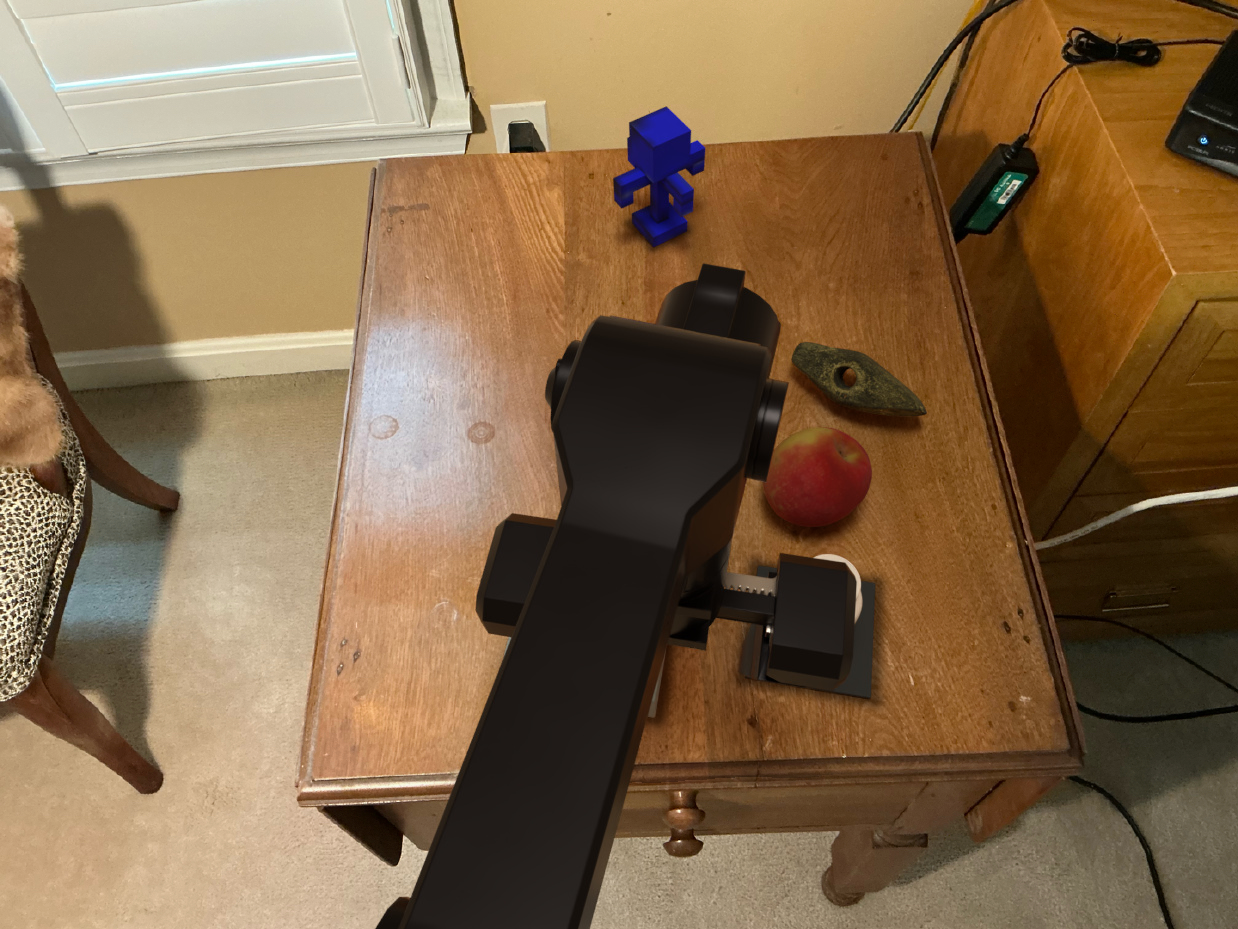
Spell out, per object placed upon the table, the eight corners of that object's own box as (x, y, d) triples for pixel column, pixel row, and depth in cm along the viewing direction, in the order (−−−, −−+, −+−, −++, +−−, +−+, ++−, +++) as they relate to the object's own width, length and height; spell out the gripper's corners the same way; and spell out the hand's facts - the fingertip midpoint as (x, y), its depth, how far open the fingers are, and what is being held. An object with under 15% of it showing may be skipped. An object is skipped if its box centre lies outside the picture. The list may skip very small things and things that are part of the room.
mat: (869, 699, 63) (870, 697, 63) (744, 678, 64) (745, 676, 64) (874, 584, 68) (875, 582, 68) (757, 567, 69) (757, 565, 69)
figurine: (703, 206, 90) (709, 104, 80) (689, 259, 86) (693, 160, 76) (631, 196, 91) (628, 94, 81) (613, 248, 87) (608, 148, 77)
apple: (850, 555, 69) (871, 506, 62) (749, 528, 71) (759, 478, 64) (866, 475, 73) (888, 421, 66) (770, 451, 74) (781, 396, 68)
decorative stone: (790, 432, 75) (799, 398, 71) (787, 361, 79) (794, 325, 75) (922, 435, 75) (938, 401, 70) (911, 363, 79) (926, 327, 74)
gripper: (887, 412, 42) (831, 553, 55) (507, 364, 44) (542, 511, 57) (879, 634, 36) (819, 731, 50) (445, 565, 39) (499, 676, 52)
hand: (664, 652), depth 52 cm, fingers open, 9 cm apart
